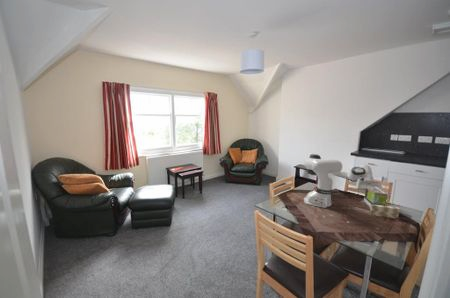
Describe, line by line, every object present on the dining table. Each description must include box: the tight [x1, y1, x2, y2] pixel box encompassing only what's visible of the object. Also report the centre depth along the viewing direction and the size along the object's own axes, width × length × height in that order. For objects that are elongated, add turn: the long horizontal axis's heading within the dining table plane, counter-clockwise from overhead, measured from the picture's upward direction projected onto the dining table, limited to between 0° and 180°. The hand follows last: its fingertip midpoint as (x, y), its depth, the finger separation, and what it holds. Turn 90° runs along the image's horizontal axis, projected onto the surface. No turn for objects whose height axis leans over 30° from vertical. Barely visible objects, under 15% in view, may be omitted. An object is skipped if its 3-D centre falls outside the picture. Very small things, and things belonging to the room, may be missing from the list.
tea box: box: [363, 186, 388, 208], centre depth 175 cm, size 15×10×15 cm, turn 168°
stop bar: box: [369, 204, 401, 219], centre depth 159 cm, size 18×3×8 cm, turn 75°
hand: (370, 195), depth 184 cm, fingers closed
